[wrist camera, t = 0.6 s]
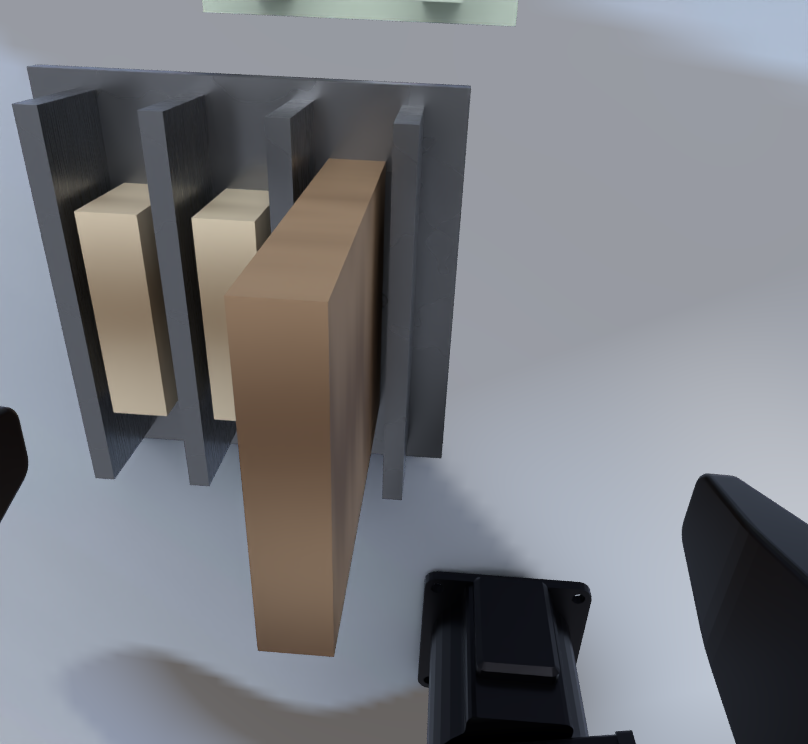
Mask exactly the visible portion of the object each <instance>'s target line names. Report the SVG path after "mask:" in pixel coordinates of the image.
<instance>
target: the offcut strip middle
mask: <svg viewBox="0 0 808 744" xmlns="http://www.w3.org/2000/svg"><path fill="white" fill-rule="evenodd" d="M191 219H192V228H193V237H194V246H195V254H196V263H197V272H198V281H199V290H200V298H201V307H202V316H203V325H204V334H205V342H206V351H207V360H208V369H209V378H210V386H211V395H212V404H213V413H214V419H216V420H230V421H236V417H235V406H234V396H233V386H232V375H231V365H230V354H229V344H228V333H227V323H226V312H225V302H224V295H225V293H226V292H227V291H228V290H229V288H230V287H231V286H232V284H233V283H234V282H235V280H236V279H237V278H238V276H239V275H240V274H241V273H242V271H243V270H244V269H245V267H246V266H247V265H248V263H249V262H250V261H251V260H252V258H253V257H254V256H255V254H256V253H257V252H258V250H259V249H260V248H261V246H262V245H263V244H264V243H265V241H266V240H267V239H268V237H269V236H270V235H271V225H270V207H269V191H264V190H246V189H228V188H226V189H225V190H224V191H223V192H221V193H220V194H219V195H218V196H217V197H216V198H214V199H213V200H212V201H211V202H210V203H208V204H207V205H206V206H205V207H204V208H203V209H201V210H200V211H199V212H198V213H197V214H196V215H194V216H193V217H192V218H191Z"/></svg>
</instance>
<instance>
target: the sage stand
mask: <svg viewBox="0 0 808 744" xmlns="http://www.w3.org/2000/svg"><path fill="white" fill-rule="evenodd" d="M202 2H203V3H202V4H203V12H209V13H230V14H252V15H274V16H296V17H318V18H319V17H320V18H340V19H362V20H385V21H407V22H428V23H450V24H473V25H494V26H516V17H517V8H518V0H202Z"/></svg>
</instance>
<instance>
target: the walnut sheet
mask: <svg viewBox="0 0 808 744" xmlns="http://www.w3.org/2000/svg"><path fill="white" fill-rule="evenodd" d="M385 174H386V161H368V160H349V159H331V158H329V159H328V160H327V162H326V163H325V164H324V165H323V167H322V168H321V169H320V171H319V172H318V173H317V175H316V176H315V177H314V179H313V180H312V181H311V182H310V184H309V185H308V186H307V188H306V189H305V190H304V192H303V193H302V194H301V196H300V197H299V198H298V199H297V201H296V202H295V203H294V205H293V206H292V207H291V209H290V210H289V211H288V212H287V214H286V215H285V216H284V218H283V219H282V220H281V222H280V223H279V224H278V226H277V227H276V228H275V229H274V231H273V232H272V233H271V235H270V236H269V237H268V239H267V240H266V241H265V243H264V244H263V245H262V246H261V248H260V249H259V250H258V252H257V253H256V254H255V256H254V257H253V258H252V260H251V261H250V262H249V263H248V265H247V266H246V267H245V269H244V270H243V271H242V273H241V274H240V275H239V276H238V278H237V279H236V280H235V282H234V283H233V284H232V286H231V287H230V288H229V290H228V291H227V292H226V293H225V295H224V302H225V312H226V323H227V333H228V344H229V354H230V365H231V375H232V386H233V396H234V406H235V417H236V427H237V438H238V448H239V459H240V469H241V480H242V490H243V501H244V511H245V522H246V532H247V542H248V553H249V563H250V574H251V584H252V595H253V605H254V616H255V626H256V637H257V647H258V651H267V652H279V653H292V654H304V655H316V656H329V657H334V654H335V648H336V643H337V637H338V632H339V626H340V621H341V615H342V610H343V604H344V599H345V593H346V588H347V582H348V577H349V571H350V566H351V560H352V555H353V549H354V544H355V538H356V533H357V527H358V522H359V516H360V511H361V505H362V500H363V494H364V489H365V483H366V478H367V472H368V467H369V461H370V456H371V450H372V445H373V439H374V434H375V429H376V423H377V418H378V412H379V407H380V375H381V335H382V295H383V254H384V214H385Z"/></svg>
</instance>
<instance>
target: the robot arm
mask: <svg viewBox="0 0 808 744" xmlns="http://www.w3.org/2000/svg"><path fill="white" fill-rule="evenodd" d="M27 470H28V456H27V451H26V447H25V442H24V438H23V434H22V429H21V425H20V420H19V417H18V415H17V413H16V412H15V411H14V410H13V409H11V408H9V407H1V406H0V522H1V520H2V519H3V517H4V515H5V513H6V511H7V510H8V508H9V506H10V504H11V502H12V501H13V499H14V497H15V495H16V493H17V491H18V490H19V488H20V486H21V484H22V482H23V481H24V479H25V476H26V473H27ZM682 542H683V548H684V552H685V557H686V562H687V567H688V572H689V576H690V581H691V586H692V591H693V596H694V601H695V606H696V610H697V615H698V620H699V625H700V630H701V634H702V638H703V642H704V647H705V650H706V654H707V656H708V660H709V663H710V667H711V669H712V673H713V676H714V679H715V682H716V685H717V688H718V691H719V694H720V697H721V700H722V703H723V706H724V709H725V712H726V715H727V718H728V721H729V724H730V727H731V730H732V733H733V736H734V739H735V742H736V744H808V524H807V523H805V522H804V521H802V520H801V519H799V518H798V517H796V516H795V515H793V514H792V513H790V512H789V511H787V510H786V509H784V508H783V507H781V506H779V505H778V504H777V503H775V502H774V501H772V500H771V499H769V498H767V497H766V496H765V495H763V494H761V493H760V492H758V491H757V490H755V489H754V488H752V487H751V486H749V485H748V484H746V483H745V482H743V481H742V480H740V479H739V478H737V477H734V476H730V475H718V474H704V475H702V476H700V477H699V479H698V480H697V482H696V485H695V488H694V491H693V494H692V497H691V500H690V503H689V506H688V509H687V512H686V516H685V518H684V522H683V526H682ZM437 583H438V584H441V585H434V584H437ZM578 594H580V596H575V595H578ZM590 604H591V593H590V589H589V587H588V586H587V585H586V584H584V583H581V582H572V581H558V580H545V579H532V578H519V577H506V576H492V575H479V574H466V573H453V572H440V571H437V572H432V573H429V574H428V575H427V576H426V579H425V588H424V601H423V615H422V629H421V642H420V656H419V670H418V682H419V683H420V684H421V685H422V686H424V687H428V688H429V700H428V729H427V744H636V743H635V740H634V736H633V732H632V731H631V730H630V731H616V732H615V734H616V735H602V736H588V730H587V724H586V719H585V713H584V708H583V702H582V697H581V691H580V685H579V680H578V675H577V669H576V663H577V658H578V654H579V650H580V646H581V642H582V638H583V633H584V629H585V625H586V621H587V616H588V612H589V608H590Z"/></svg>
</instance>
